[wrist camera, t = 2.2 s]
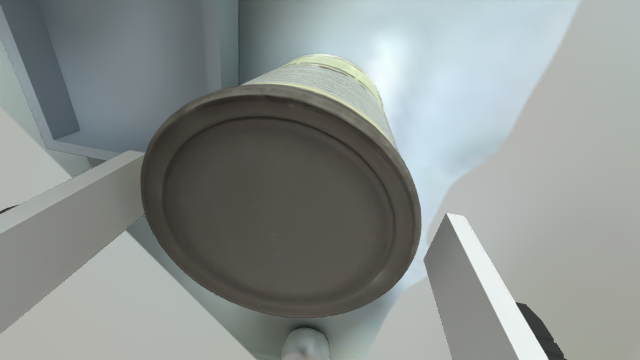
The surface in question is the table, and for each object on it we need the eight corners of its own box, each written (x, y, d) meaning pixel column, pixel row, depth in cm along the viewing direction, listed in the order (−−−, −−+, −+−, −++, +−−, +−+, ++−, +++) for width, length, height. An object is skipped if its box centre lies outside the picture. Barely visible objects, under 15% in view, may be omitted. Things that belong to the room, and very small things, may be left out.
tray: (3, -89, 17) (-61, -111, 15) (237, -50, 17) (215, -65, 14) (79, 136, 26) (46, 148, 23) (239, 167, 25) (225, 184, 22)
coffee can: (393, 163, 23) (434, 314, 11) (284, 183, 25) (216, 325, 13) (372, 32, 18) (400, 36, 6) (241, 72, 21) (74, 133, 9)
